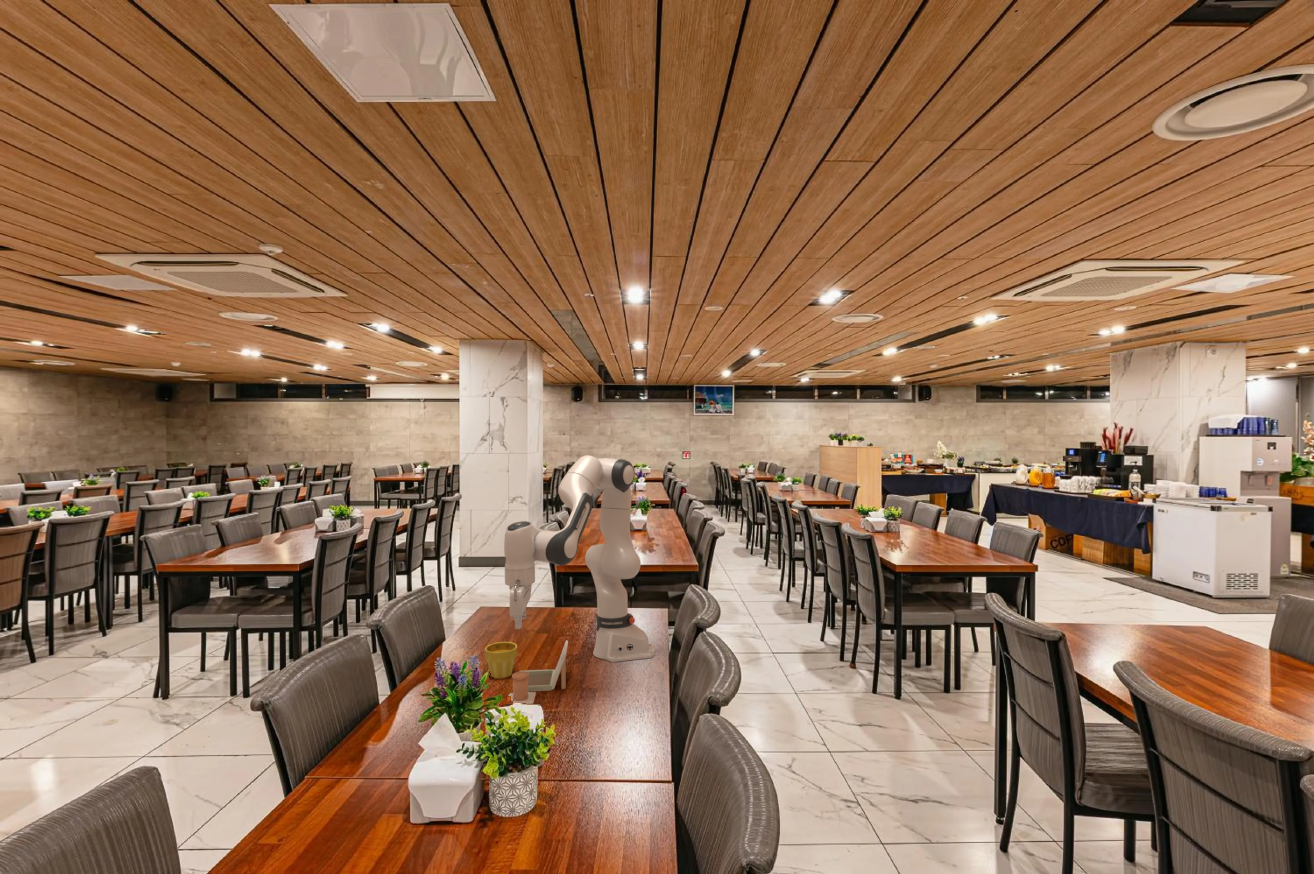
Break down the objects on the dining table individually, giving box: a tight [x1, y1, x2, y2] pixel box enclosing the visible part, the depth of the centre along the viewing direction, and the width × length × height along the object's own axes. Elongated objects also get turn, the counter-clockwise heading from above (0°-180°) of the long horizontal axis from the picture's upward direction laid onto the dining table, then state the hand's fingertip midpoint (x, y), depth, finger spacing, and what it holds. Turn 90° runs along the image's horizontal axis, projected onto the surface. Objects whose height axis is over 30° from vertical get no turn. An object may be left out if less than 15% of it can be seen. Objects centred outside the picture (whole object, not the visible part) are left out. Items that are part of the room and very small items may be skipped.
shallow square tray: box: [525, 668, 556, 692], centre depth 194 cm, size 12×14×2 cm
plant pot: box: [484, 641, 518, 680], centre depth 201 cm, size 10×10×10 cm
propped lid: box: [552, 640, 569, 690], centre depth 194 cm, size 4×14×12 cm, turn 5°
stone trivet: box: [507, 691, 537, 705], centre depth 181 cm, size 8×8×1 cm
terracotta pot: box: [511, 670, 529, 701], centre depth 182 cm, size 5×5×7 cm
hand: (520, 623), depth 182 cm, fingers open, 8 cm apart
